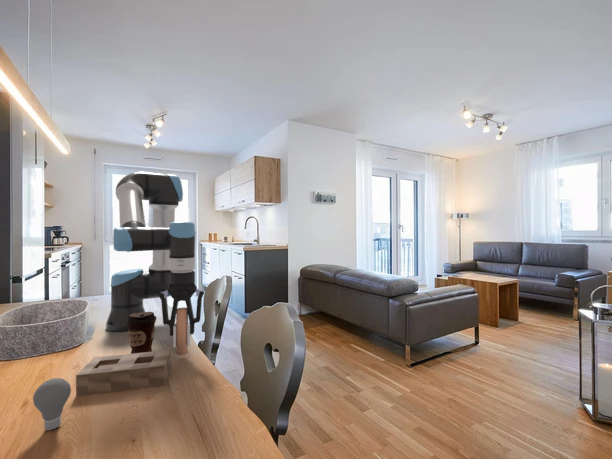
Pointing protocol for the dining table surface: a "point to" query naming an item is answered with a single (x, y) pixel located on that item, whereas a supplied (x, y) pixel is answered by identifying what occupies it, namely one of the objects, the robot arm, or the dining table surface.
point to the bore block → (124, 372)
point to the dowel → (181, 331)
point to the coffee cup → (141, 331)
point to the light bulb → (52, 401)
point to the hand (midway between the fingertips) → (182, 344)
